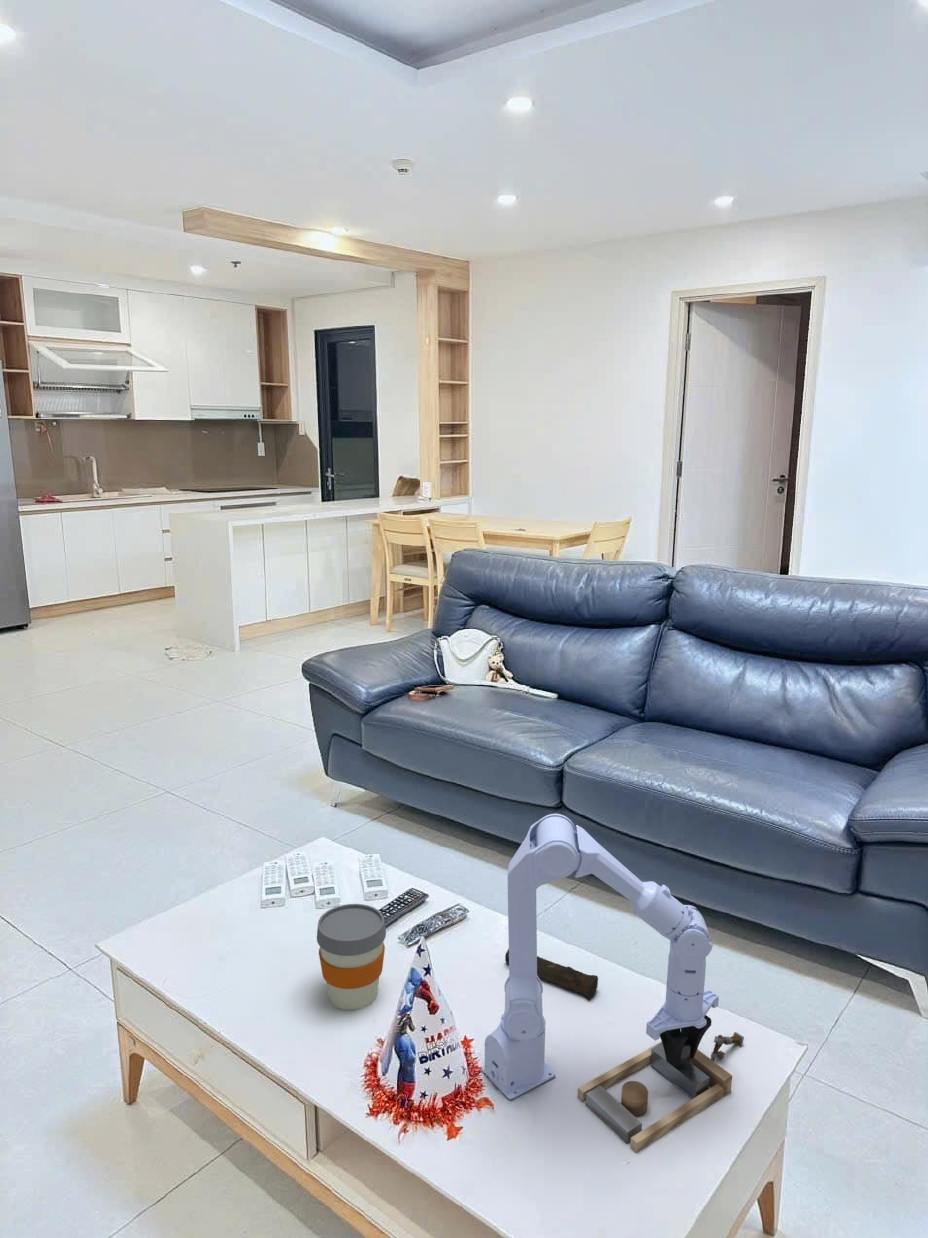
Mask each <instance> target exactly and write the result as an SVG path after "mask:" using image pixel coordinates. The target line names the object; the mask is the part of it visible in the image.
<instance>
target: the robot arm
mask: <svg viewBox="0 0 928 1238" xmlns="http://www.w3.org/2000/svg"><path fill="white" fill-rule="evenodd" d="M572 874H574V878H576V879H579V878H581V877H584V876H588V875H594V876H595V877H596V878H598V879H599V880H601V882H602V881H603V883H605V884H606V885H608V886H609V887H611V888H612V889H613V890H615V891H616V892H618V893H619V894H621V895H622V896H623V897H625V898H626V899H628V900H629V901H630V909H631V912H632V913H633V914H634V915H635V916H637V917H638V918H639V919H641V920H642V921H643V922H645V923H646V924H647V925H648V926H649V927H650V928H652V929H653V930H655V931H656V932H657V933H658V934H660V935H661V936H662V937H664V938H665V939H668V940H669V953H668V958H667V959H668V960H667V974H666V975H667V976H666V988H665V989H666V990H665V1002H664V1003H663V1004H662V1005H661V1007H660V1009H659V1010H658V1011H657V1012H656V1014H655V1015H654V1017H653V1018H652V1019H650V1020H649V1021H648V1022H646V1026H645V1033H646V1036H647V1035H648V1037H650V1038H651V1039H653V1040H654V1041H658V1040H659V1039H660V1040H661V1042H662V1044H663V1047H664V1051H665V1056H666V1061H667V1062H668V1063H670V1064H671V1065H672V1066H673V1067H675V1068H677V1067H679V1064H680V1061H681V1054H682V1049H683V1046H684V1044H685V1042H686V1040H687V1039H688V1040H689V1041H690V1042H691V1050H690V1058H691V1059H692V1058H694V1056H695V1054H696V1051H697V1049H698V1048H699V1045H700V1043H701V1041H702V1039H703V1037H704V1035H705V1034H706V1032H707V1031H708V1030H709V1028H710V1027H711V1026H712V1021H713V1020H712V1019H711V1017H710V1016H709V1015H707V1014H708V1012H709V1011H710V1010H711V1008H712V1009H716V1008H718V1007H719V1000H720V999H719V998H720V996H719V995H718V994H717V993H715V992H714V991H712V990H710V989H708V990H706V991H705V983H706V969H707V961H706V958H707V957H708V956H709V955H710V953H711V952H712V951H713V950H712V949H713V943H712V940H711V935H710V932H709V931H708V926H707V924H706V922H705V919H704V916H703V915H702V914H701V912H700V911H699V910H698V909H697V907H695V906H693V905H690V904H683V903H682V902H680V901H679V900H678V899H677V898H675V897H674V896H673V895H672V894H671V890H670V888H669V887H668V886H667V885H665V884H661V886H660V885H659V884H658V883H656V882H655V881H651V880H650V881H642V880H641V879H639V878H638V877H637V876H636V875H635V874H633V872H632V871H630V870H629V869H628V868H627V867H626V866H624V864H623V863H621V862H620V861H619V860H618V859H617V858H616V857H614V856H613V855H612V854H611V853H610V852H609V851H607V850H606V848H604V847H603V845H601V844H600V843H598V842H597V840H595V839H594V837H592V835H590V834H589V833H588V831H586V830H585V828H583V827H581V826H579V825H577V824H576V825H575V824H574V823H573V822H572V820H571V819H570V818H568V817H567V816H566V815H563V814H560V813H551V814H547V815H545V816H543V817H541V818H540V819H538V820H537V821H536V822H534V823H533V824H531V825H530V827H529V829H528V832H527V834H526V836H525V838H524V840H523V841H522V843H521V844H520V846H519V847H518V849H517V851H516V852H515V853H514V855H513V857H512V858H511V859H510V862H509V863H508V866H507V916H508V918H507V919H508V931H507V932H508V949H509V965H508V977H507V978H506V980H505V983H504V1011H503V1014H501V1017H500V1023H499V1025H498V1026H497V1027H496V1028H495V1029H494V1031H492V1032H491V1033H489V1034H488V1035H487V1036H486V1038H485V1040H484V1065H483V1066H481V1071H482V1070H483V1071H482V1073H483V1074H484V1073H485V1074H486V1075H485V1074H484V1075H485V1076H486V1077H487V1076H488V1077H489V1078H488V1077H487V1078H488V1079H489V1080H490V1081H491V1083H493V1084H494V1085H495V1086H496V1088H498V1089H499V1091H500V1092H501V1093H502V1094H503V1095H504V1096H505V1097H506V1099H508V1100H513V1099H515V1098H518V1097H519V1096H521V1095H523V1094H525V1093H526V1092H528V1091H530V1090H532V1089H534V1088H537V1086H539V1085H542V1084H543V1083H545V1082H547V1081H549V1080H551V1079H553V1078H554V1077H556V1072H555V1071H554V1070H553V1069H552V1068H551V1067H550V1066H549V1065H548V1064H547V1063H546V1062H545V1057H546V1055H545V1052H546V1019H545V1017H544V1015H543V990H544V987H543V983H542V981H541V979H540V977H538V975H537V956H538V948H537V947H538V945H537V944H538V943H537V941H538V939H537V936H538V935H537V934H538V933H537V929H538V928H537V925H538V924H537V922H538V921H537V920H538V919H537V889H538V888H540V887H541V886H543V885H546V884H549V883H551V882H552V883H553V882H555V881H559V880H561V879H564V878H567V877H570V876H571V875H572ZM698 1050H699V1049H698Z"/></svg>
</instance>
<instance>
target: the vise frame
mask: <svg viewBox="0 0 928 1238" xmlns="http://www.w3.org/2000/svg"><path fill="white" fill-rule="evenodd" d="M661 1043H662V1041H661V1042H658V1043H657V1044H655V1045H652V1046H651V1047H650V1048H648V1049H645V1050H644V1051H642V1052H640V1053H638V1054H637V1055H635V1056H633V1057H631V1058H630V1059H628V1060H625V1061H624V1062H622V1063H620V1064H618V1065H617V1066H615V1067H613V1068H612V1069H610V1070H608V1071H606V1072H604V1073H603V1074H600V1075H599V1076H597V1077H595V1078H594V1079H592V1080H590V1081H588V1082H586V1083H584V1084H583V1085H581V1086H579V1087H577V1098H578V1097H579V1098H580V1099H581V1102H584V1101H585V1105H586V1107H587V1108H589V1109H590V1110H591V1111H592V1112H593V1113H594V1114H595V1115H596V1116H597V1117H598V1118H599V1119H600V1120H601V1121H602V1122H604V1123H605V1125H607V1127H608V1128H610V1129H611V1130H612V1131H613V1132H614V1133H615V1134H616V1135H617V1136H618V1137H619V1138H620V1139H621V1140H623V1142H625V1144H628V1143H630V1146H629V1147H630V1148H631V1149H632V1150H633V1151H634V1152H635V1153H637V1152H640V1150H642V1149H644V1148H645V1147H647V1146H648V1145H650V1144H652V1143H653V1142H655V1141H656V1140H658V1139H659V1138H662V1137H663V1136H665V1134H667V1133H669V1132H670V1131H672V1130H673V1129H675V1128H677V1127H679V1126H680V1125H681V1124H683V1123H684V1122H686V1121H688V1120H689V1119H691V1118H692V1117H694V1116H695V1115H697V1114H699V1113H700V1112H702V1111H703V1110H705V1109H707V1108H708V1107H710V1106H711V1105H713V1104H714V1103H716V1102H718V1101H719V1100H720V1099H723V1098H724V1097H725V1096H727V1095H728V1094H730V1093H731V1092H732V1086H733V1085H732V1084H733V1075H732V1074H731V1073H730V1072H728V1071H727V1070H725V1069H724V1068H723V1067H721V1065H719V1064H718V1063H716V1061H715V1062H714V1061H713V1060H711V1057H708V1056H707V1055H706V1054H704V1053H703V1052H702V1051H701V1050H699V1049H697V1051H696V1054H695V1056H694V1058H692V1059H691V1058H690V1062H691V1063H692V1064H693V1065H694V1066H696V1067H697V1068H698V1069H699V1070H701V1071H702V1072H703V1073H705V1074H706V1075H707V1076H708V1077H710V1079H709V1089H708V1090H706V1091H705V1092H703V1093H702V1094H700V1095H698V1096H697V1097H695V1098H694V1099H691V1100H689V1101H687V1102H685V1103H684V1104H683V1105H681V1106H680V1107H677V1108H676V1109H674V1110H672V1111H671V1112H670V1113H668V1114H666V1115H665V1116H662V1117H661V1118H660V1119H659V1120H657V1121H655V1122H654V1123H652V1124H650V1125H649V1126H647V1127H646V1128H644V1129H643V1127H642V1126H643V1123H642V1121H640V1120H639V1119H638V1118H637V1117H635V1116H634V1115H632V1114H631V1113H630V1112H629V1111H628V1110H627V1109H626V1108H625V1107H624V1106H623V1105H621V1103H620V1102H619V1101H618V1100H617V1099H616V1098H615V1097H614V1096H612V1095H611V1093H610V1092H608V1091H607V1090H606V1089H607V1088H609V1087H611V1086H613V1085H615V1084H616V1083H618V1082H620V1081H621V1079H622V1080H623V1079H625V1078H626V1077H629V1076H631V1075H632V1074H634V1073H636V1072H637V1071H639V1070H641V1069H642V1068H644V1067H646V1066H648V1065H650V1062H651V1049H652V1048H654V1047H656V1046H658V1045H659V1044H661ZM619 1080H620V1081H619ZM614 1083H615V1084H614ZM579 1098H578V1099H579ZM580 1099H579V1100H580Z"/></svg>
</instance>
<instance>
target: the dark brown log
mask: <svg viewBox="0 0 928 1238" xmlns="http://www.w3.org/2000/svg"><path fill="white" fill-rule="evenodd" d="M504 958H505V963H506V964H507V965H508V966H509V948H508V949H507V950H506V953H505V955H504ZM537 975H538V977H539V979H540V978H541V979H543V980H545V981H547V982H551V983H554V984H556V985H559V986H561V987H564V988H567V989H569V990H571V991H574V992H577V993H580V994H581V995H582V994H583V995H585V996H586V997H587V999H588V1000H589V1001H591V1000H592V998H594V996H595V994H596V992H597V990H598V989H597V988H598V985H599V977H598V975H594V974H592V975H591V974H587V973H584V972H581V971H579V970H576V969H574V968H573V967H571V966H565V965H561V964H560V963H556V962H554V961H552V960H551V961H550V960H547V959H545V958H543V957H540V956H539V955H537Z"/></svg>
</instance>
